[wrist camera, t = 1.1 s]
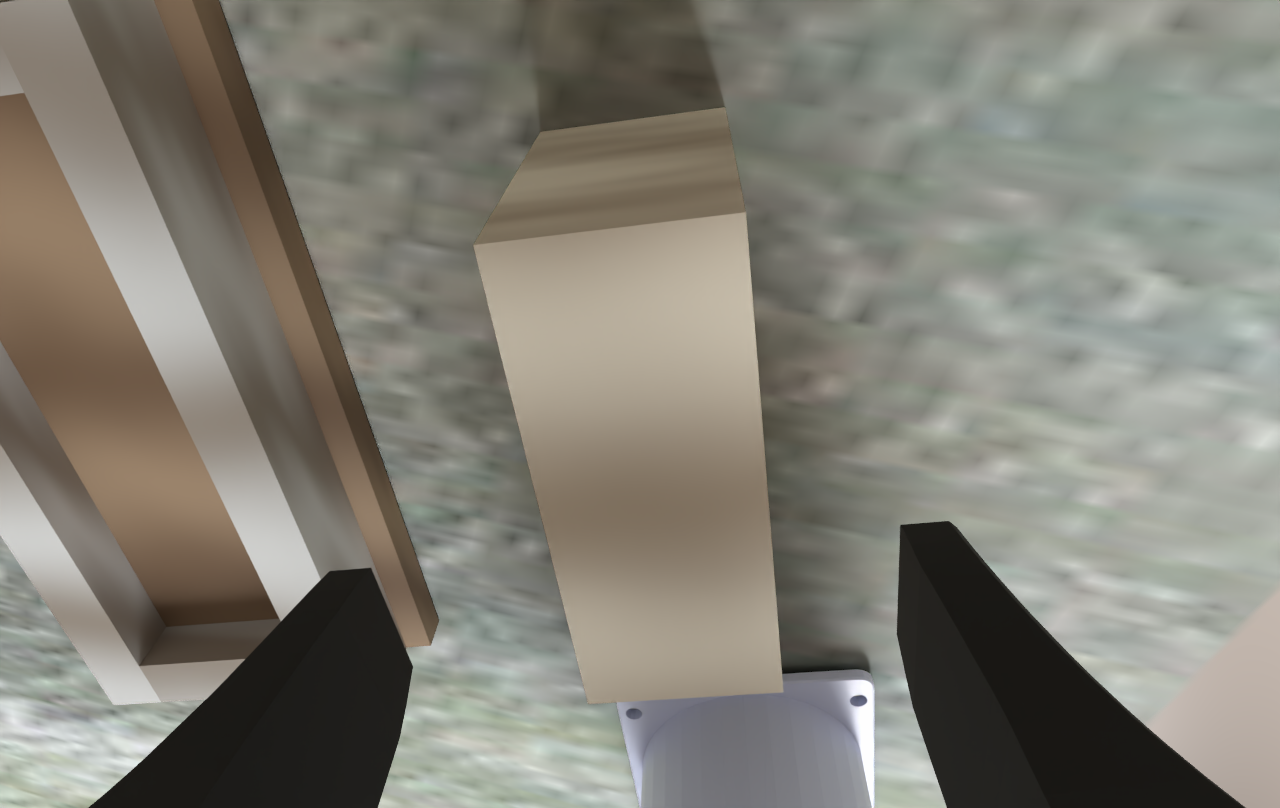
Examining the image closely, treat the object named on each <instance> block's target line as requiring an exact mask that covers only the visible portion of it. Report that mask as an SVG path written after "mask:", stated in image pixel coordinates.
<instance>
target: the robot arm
mask: <svg viewBox="0 0 1280 808" xmlns="http://www.w3.org/2000/svg"><path fill="white" fill-rule="evenodd" d="M897 636H898V641H899V646H900V650H901V655H902V660H903V664H904V669H905V674H906V678H907V683H908V687H909V691H910V696H911V700H912V705H913V708H914V711H915V714H916V718H917V721H918V724H919V727H920V730H921V732H922V735H923V738H924V741H925V744H926V747H927V750H928V753H929V756H930V759H931V762H932V765H933V768H934V771H935V774H936V777H937V780H938V783H939V785H940V788H941V791H942V794H943V797H944V800H945V803H946V806H947V808H1245V807H1244V806H1243V805H1241V804H1240V803H1239V802H1238V801H1236V800H1235V799H1234V798H1232V797H1231V796H1230V795H1229V794H1227V793H1226V792H1225V791H1223V790H1222V789H1221V788H1220V787H1218V786H1217V785H1216V784H1215V783H1213V782H1212V781H1211V780H1209V779H1208V778H1207V777H1206V776H1204V775H1203V774H1202V773H1201V772H1200V771H1198V770H1197V769H1196V768H1195V767H1194V766H1192V765H1191V764H1190V763H1189V762H1187V761H1186V760H1185V759H1184V758H1183V757H1181V756H1180V755H1179V754H1178V753H1177V752H1175V751H1174V750H1173V749H1172V748H1170V747H1169V746H1168V745H1167V744H1166V743H1165V742H1163V741H1162V740H1161V739H1160V738H1159V737H1158V736H1157V735H1155V734H1154V733H1153V732H1152V731H1151V730H1150V729H1149V728H1147V727H1146V726H1145V725H1144V724H1143V723H1142V722H1141V721H1140V720H1138V719H1137V718H1136V717H1135V716H1134V715H1133V714H1132V713H1131V712H1130V711H1128V710H1127V709H1126V708H1125V707H1124V706H1123V705H1122V704H1121V703H1120V702H1119V701H1118V700H1117V699H1116V698H1114V697H1113V696H1112V695H1111V694H1110V693H1109V692H1108V691H1107V690H1106V689H1105V688H1104V687H1103V686H1102V685H1101V684H1100V683H1098V682H1097V681H1096V680H1095V679H1094V678H1093V677H1092V676H1091V675H1090V674H1089V673H1088V672H1087V671H1086V670H1085V669H1084V668H1083V667H1082V666H1081V665H1080V664H1079V663H1078V662H1077V661H1076V660H1075V659H1074V658H1073V657H1072V656H1071V655H1070V654H1069V653H1068V652H1067V651H1066V650H1065V649H1064V648H1063V647H1062V646H1061V645H1060V644H1059V643H1058V642H1057V641H1056V640H1055V639H1054V638H1053V637H1052V635H1051V634H1050V633H1049V632H1048V631H1047V630H1046V629H1045V628H1044V627H1043V626H1042V625H1041V624H1040V623H1039V622H1038V621H1037V620H1036V619H1035V618H1034V617H1033V616H1032V615H1031V614H1030V612H1029V611H1028V610H1027V609H1026V608H1025V607H1024V606H1023V605H1022V604H1021V603H1020V602H1019V600H1018V599H1017V598H1016V597H1015V596H1014V595H1013V594H1012V593H1011V591H1010V590H1009V589H1008V588H1007V587H1006V586H1005V585H1004V584H1003V582H1002V581H1001V580H1000V579H999V578H998V577H997V576H996V574H995V573H994V572H993V571H992V570H991V569H990V567H989V566H988V565H987V564H986V563H985V562H984V560H983V559H982V558H981V557H980V556H979V554H978V553H977V552H976V551H975V549H974V548H973V547H972V546H971V545H970V543H969V542H968V541H967V540H966V538H965V537H964V536H963V535H962V533H961V532H960V531H959V530H958V528H957V527H956V526H954V525H953V524H952V523H951V522H949V521H944V522H932V523H919V524H907V525H900V555H899V586H898V617H897ZM412 669H413V666H412V663H411V661H410V659H409V656H408V654H407V652H406V649H405V647H404V644H403V642H402V640H401V637H400V635H399V633H398V630H397V628H396V625H395V623H394V621H393V618H392V616H391V614H390V611H389V609H388V607H387V604H386V602H385V599H384V597H383V595H382V592H381V590H380V588H379V585H378V583H377V580H376V578H375V576H374V573H373V571H372V569H371V568H361V569H349V570H336V571H329V572H328V573H327V574H326V575H325V576H324V577H323V578H322V579H321V580H320V581H319V582H318V583H317V584H316V585H315V586H314V587H313V588H312V589H311V590H310V591H309V592H308V593H307V594H306V595H305V597H304V598H303V599H302V600H301V601H300V602H299V603H298V604H297V605H296V606H295V607H294V608H293V609H292V610H291V611H290V612H289V613H288V615H287V616H286V617H285V618H284V619H283V620H282V621H281V622H280V623H279V624H278V625H277V626H276V627H275V628H274V629H273V631H272V632H271V633H270V634H269V635H268V636H267V637H266V638H265V639H264V640H263V641H262V642H261V643H260V644H259V645H258V646H257V647H256V648H255V650H254V651H253V652H252V653H251V654H250V655H249V656H248V657H247V658H246V659H245V660H244V661H243V662H242V663H241V664H240V665H239V666H238V667H237V668H236V669H235V670H234V671H233V672H232V673H231V674H230V676H229V677H228V678H227V679H226V680H225V681H224V682H223V683H222V684H221V685H220V686H219V687H218V688H217V689H216V690H215V691H214V692H213V693H212V694H211V695H210V696H209V697H208V698H207V699H206V700H205V701H204V702H203V703H202V704H201V705H200V706H199V707H198V708H197V709H196V710H195V711H194V712H193V713H191V714H190V715H189V716H188V717H187V718H186V719H185V720H184V721H183V722H182V723H181V724H180V725H179V726H178V727H177V728H176V729H175V730H174V731H173V732H172V733H171V734H170V735H169V736H168V737H167V738H166V739H165V740H164V741H163V742H161V743H160V744H159V745H158V746H157V747H156V748H155V749H154V750H153V751H152V752H151V753H150V754H149V755H148V756H147V757H146V758H145V759H144V760H143V761H141V762H140V763H139V764H138V765H137V766H136V767H135V768H134V769H133V770H132V771H130V772H129V773H128V774H127V775H126V776H125V777H124V778H123V779H121V780H120V781H119V782H118V783H117V784H116V785H115V786H113V787H112V788H111V789H110V790H109V791H108V792H107V793H105V794H104V795H103V796H102V797H101V798H99V799H98V800H97V801H96V802H95V803H94V804H92V805H91V806H90V807H89V808H378V805H379V802H380V798H381V795H382V792H383V789H384V786H385V783H386V780H387V777H388V773H389V770H390V767H391V764H392V761H393V758H394V754H395V751H396V748H397V745H398V741H399V738H400V733H401V728H402V724H403V719H404V714H405V709H406V704H407V698H408V692H409V686H410V680H411V674H412ZM782 679H783V692H782V693H765V694H748V695H732V696H715V697H698V698H682V699H665V700H648V701H632V702H616V705H617V709H618V713H619V718H620V722H621V727H622V731H623V736H624V740H625V744H626V749H627V753H628V758H629V762H630V767H631V771H632V775H633V780H634V784H635V789H636V793H637V798H638V802H639V806H640V808H875V687H874V682H873V679H872V675H871V674H869V673H868V672H867V671H864V670H858V669H853V670H837V671H821V672H805V673H789V674H782ZM856 695H860V696H856ZM632 708H635V709H632Z"/></svg>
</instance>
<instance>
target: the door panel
mask: <svg viewBox="0 0 1280 808" xmlns="http://www.w3.org/2000/svg"><path fill="white" fill-rule="evenodd" d="M473 247H474V251H475V255H476V259H477V263H478V267H479V271H480V275H481V279H482V283H483V287H484V291H485V295H486V299H487V303H488V307H489V311H490V315H491V319H492V323H493V327H494V331H495V335H496V339H497V343H498V347H499V351H500V355H501V359H502V363H503V367H504V371H505V375H506V379H507V383H508V387H509V391H510V395H511V398H512V402H513V406H514V410H515V414H516V418H517V422H518V426H519V430H520V434H521V438H522V442H523V446H524V450H525V454H526V458H527V462H528V466H529V470H530V474H531V478H532V482H533V486H534V490H535V494H536V498H537V502H538V506H539V510H540V514H541V518H542V522H543V526H544V530H545V534H546V538H547V542H548V546H549V550H550V554H551V558H552V562H553V566H554V570H555V574H556V578H557V582H558V586H559V590H560V594H561V598H562V602H563V606H564V610H565V614H566V618H567V622H568V626H569V630H570V634H571V638H572V642H573V646H574V650H575V654H576V658H577V662H578V666H579V670H580V674H581V678H582V682H583V686H584V690H585V694H586V698H587V702H588V704H598V703H615V702H632V701H648V700H665V699H682V698H698V697H715V696H732V695H748V694H765V693H782V692H783V679H782V666H781V653H780V641H779V628H778V615H777V602H776V590H775V577H774V564H773V551H772V538H771V526H770V513H769V500H768V487H767V475H766V462H765V449H764V436H763V424H762V411H761V398H760V385H759V372H758V360H757V347H756V334H755V321H754V309H753V296H752V283H751V270H750V257H749V245H748V232H747V219H746V210H745V205H744V200H743V195H742V190H741V185H740V180H739V174H738V169H737V164H736V159H735V154H734V149H733V144H732V139H731V134H730V129H729V124H728V119H727V114H726V109H725V107H722V108H715V109H707V110H700V111H692V112H685V113H677V114H670V115H662V116H655V117H647V118H640V119H633V120H625V121H618V122H610V123H603V124H595V125H588V126H580V127H573V128H566V129H558V130H551V131H543V132H540V133H539V135H538V137H537V138H536V140H535V142H534V143H533V145H532V147H531V148H530V150H529V152H528V154H527V155H526V157H525V159H524V160H523V162H522V164H521V165H520V167H519V169H518V170H517V172H516V174H515V175H514V177H513V179H512V180H511V182H510V184H509V186H508V187H507V189H506V191H505V192H504V194H503V196H502V197H501V199H500V201H499V202H498V204H497V206H496V207H495V209H494V211H493V212H492V214H491V216H490V218H489V219H488V221H487V223H486V224H485V226H484V228H483V229H482V231H481V233H480V234H479V236H478V238H477V239H476V241H475V243H474V244H473Z"/></svg>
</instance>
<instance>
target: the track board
mask: <svg viewBox="0 0 1280 808" xmlns="http://www.w3.org/2000/svg"><path fill="white" fill-rule="evenodd" d="M0 535H1V537H2V538H3V540H4V541H5V543H6V544H7V546H8V547H9V549H10V550H11V552H12V553H13V555H14V556H15V558H16V559H17V561H18V562H19V564H20V565H21V567H22V568H23V570H24V571H25V573H26V574H27V576H28V577H29V579H30V580H31V582H32V583H33V585H34V586H35V588H36V589H37V591H38V592H39V594H40V595H41V597H42V598H43V600H44V601H45V603H46V604H47V606H48V607H49V609H50V610H51V612H52V613H53V615H54V616H55V618H56V619H57V621H58V622H59V624H60V625H61V627H62V628H63V630H64V631H65V633H66V634H67V636H68V637H69V639H70V640H71V642H72V643H73V645H74V646H75V648H76V649H77V651H78V652H79V654H80V655H81V657H82V658H83V660H84V661H85V663H86V664H87V666H88V667H89V669H90V670H91V672H92V673H93V675H94V676H95V678H96V679H97V681H98V682H99V684H100V685H101V687H102V688H103V690H104V691H105V693H106V694H107V696H108V697H109V699H110V700H111V702H112V703H113V705H124V704H140V703H155V702H171V701H187V700H203V699H207V698H208V697H209V696H210V695H211V694H212V693H213V692H214V691H215V690H216V689H217V688H218V687H219V686H220V685H221V684H222V683H223V682H224V681H225V680H226V679H227V678H228V677H229V676H230V674H231V673H232V672H233V671H234V670H235V669H236V668H237V667H238V666H239V665H240V664H241V663H242V662H243V661H244V660H245V659H246V658H247V657H248V656H249V655H250V654H251V653H252V652H253V651H254V650H255V648H256V647H257V646H258V645H259V644H260V643H261V642H262V641H263V640H264V639H265V638H266V637H267V636H268V635H269V634H270V633H271V632H272V631H273V629H274V628H275V627H276V626H277V625H278V624H279V623H280V622H281V621H282V620H283V619H284V618H285V617H286V616H287V615H288V613H289V612H290V611H291V610H292V609H293V608H294V607H295V606H296V605H297V604H298V603H299V602H300V601H301V600H302V599H303V598H304V597H305V595H306V594H307V593H308V592H309V591H310V590H311V589H312V588H313V587H314V586H315V585H316V584H317V583H318V582H319V581H320V580H321V579H322V578H323V577H324V576H325V575H326V574H327V573H328V572H329V571H336V570H349V569H361V568H371V569H372V571H373V573H374V576H375V578H376V580H377V583H378V585H379V588H380V590H381V592H382V595H383V597H384V599H385V602H386V604H387V607H388V609H389V611H390V614H391V616H392V618H393V621H394V623H395V625H396V628H397V630H398V633H399V635H400V637H401V640H402V642H403V644H404V647H405V649H406V647H416V646H431V643H432V640H433V637H434V634H435V631H436V628H437V625H438V622H439V619H438V617H437V614H436V611H435V608H434V605H433V603H432V600H431V597H430V594H429V591H428V589H427V586H426V583H425V580H424V577H423V574H422V572H421V569H420V566H419V563H418V560H417V558H416V555H415V552H414V549H413V546H412V544H411V541H410V538H409V535H408V532H407V529H406V527H405V524H404V521H403V518H402V515H401V513H400V510H399V507H398V504H397V501H396V499H395V496H394V493H393V490H392V487H391V484H390V482H389V479H388V476H387V473H386V470H385V468H384V465H383V462H382V459H381V456H380V454H379V451H378V448H377V445H376V442H375V439H374V437H373V434H372V431H371V428H370V425H369V423H368V420H367V417H366V414H365V411H364V408H363V406H362V403H361V400H360V397H359V394H358V392H357V389H356V386H355V383H354V380H353V378H352V375H351V372H350V369H349V366H348V363H347V361H346V358H345V355H344V352H343V349H342V347H341V344H340V341H339V338H338V335H337V333H336V330H335V327H334V324H333V321H332V318H331V316H330V313H329V310H328V307H327V304H326V302H325V299H324V296H323V293H322V290H321V288H320V285H319V282H318V279H317V276H316V273H315V271H314V268H313V265H312V262H311V259H310V257H309V254H308V251H307V248H306V245H305V243H304V240H303V237H302V234H301V231H300V228H299V226H298V223H297V220H296V217H295V214H294V212H293V209H292V206H291V203H290V200H289V198H288V195H287V192H286V189H285V186H284V183H283V181H282V178H281V175H280V172H279V169H278V167H277V164H276V161H275V158H274V155H273V153H272V150H271V147H270V144H269V141H268V138H267V136H266V133H265V130H264V127H263V124H262V122H261V119H260V116H259V113H258V110H257V108H256V105H255V102H254V99H253V96H252V93H251V91H250V88H249V85H248V82H247V79H246V77H245V74H244V71H243V68H242V65H241V63H240V60H239V57H238V54H237V51H236V48H235V46H234V43H233V40H232V37H231V34H230V32H229V29H228V26H227V23H226V20H225V17H224V15H223V12H222V9H221V6H220V3H219V1H218V0H13V1H7V2H1V3H0Z"/></svg>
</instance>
